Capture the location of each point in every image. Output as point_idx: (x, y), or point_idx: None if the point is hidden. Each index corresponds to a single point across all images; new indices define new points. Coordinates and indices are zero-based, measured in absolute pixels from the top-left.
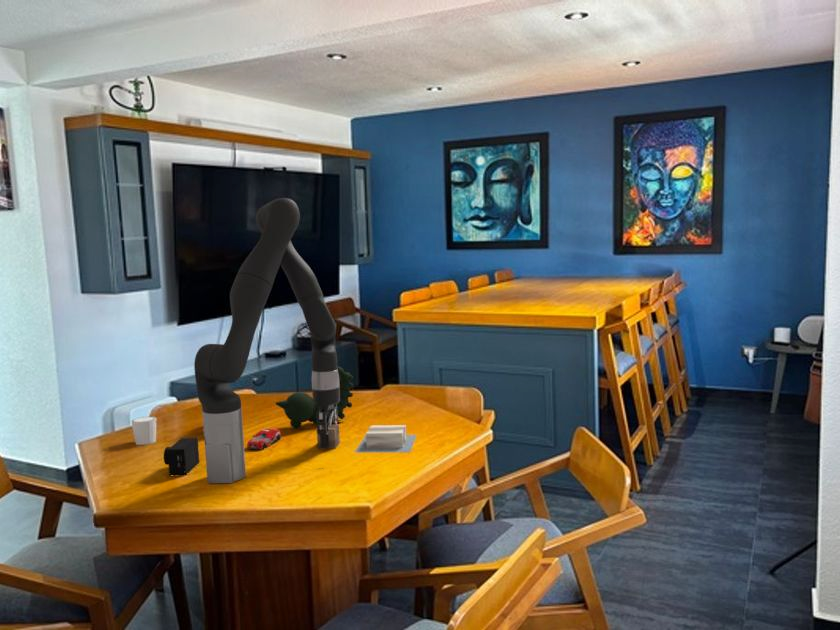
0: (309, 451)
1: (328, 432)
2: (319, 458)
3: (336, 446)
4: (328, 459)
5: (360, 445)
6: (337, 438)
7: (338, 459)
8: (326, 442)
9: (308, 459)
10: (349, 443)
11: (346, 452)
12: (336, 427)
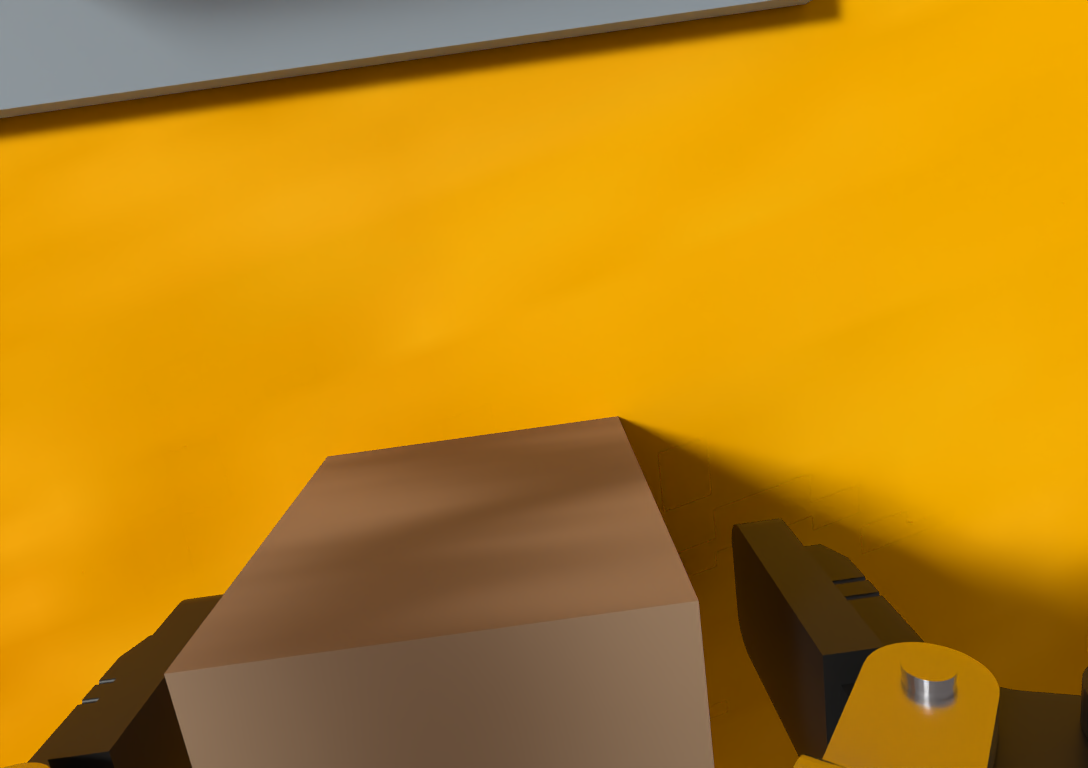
0: None
1: (948, 663)
2: (1011, 513)
3: (561, 440)
4: (1063, 364)
5: (400, 19)
6: (450, 499)
7: (1070, 203)
8: (842, 583)
9: (1052, 642)
10: (203, 330)
11: (700, 200)
12: (474, 628)
